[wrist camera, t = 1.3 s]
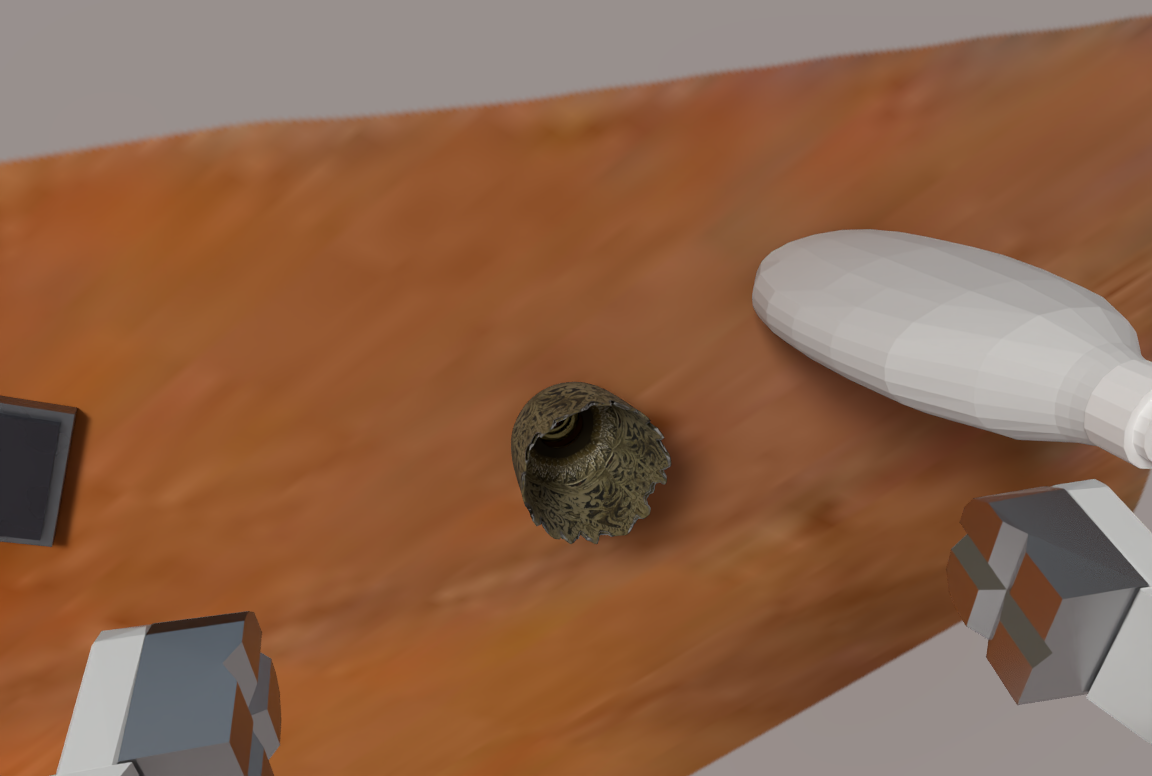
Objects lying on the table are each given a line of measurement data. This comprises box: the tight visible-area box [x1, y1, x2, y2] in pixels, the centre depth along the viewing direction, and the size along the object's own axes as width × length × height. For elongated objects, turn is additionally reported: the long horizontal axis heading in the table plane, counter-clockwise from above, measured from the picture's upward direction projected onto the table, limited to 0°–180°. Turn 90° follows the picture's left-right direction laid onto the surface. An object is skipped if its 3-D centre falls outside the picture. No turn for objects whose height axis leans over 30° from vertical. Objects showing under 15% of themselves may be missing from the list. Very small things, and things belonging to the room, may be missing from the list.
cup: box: [511, 382, 671, 544], centre depth 49 cm, size 8×7×8 cm
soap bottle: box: [752, 229, 1152, 469], centre depth 43 cm, size 14×8×27 cm, turn 91°
